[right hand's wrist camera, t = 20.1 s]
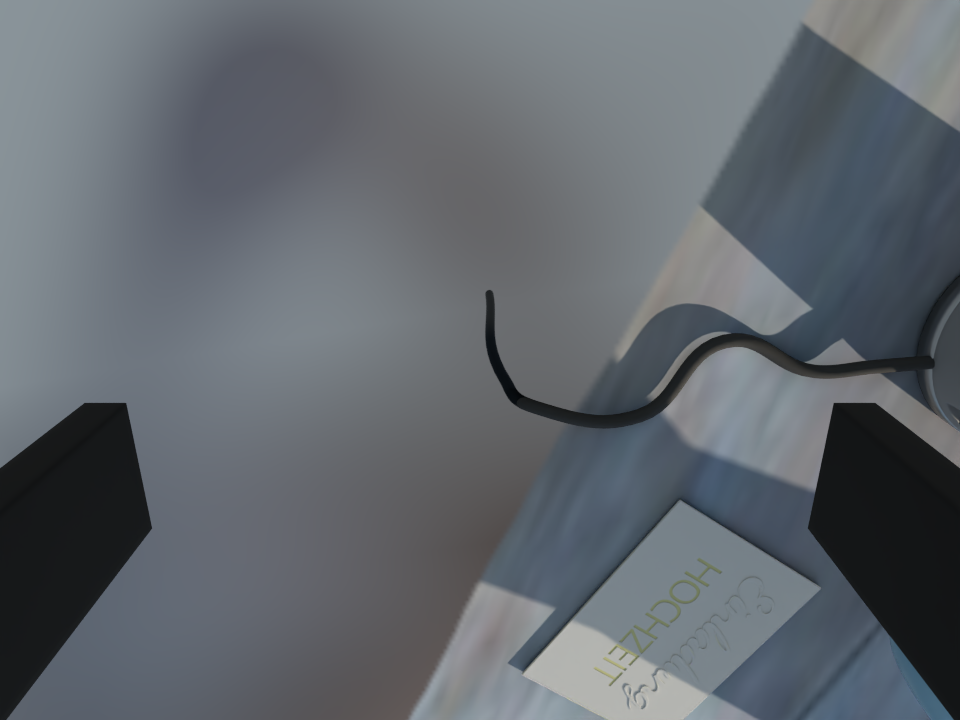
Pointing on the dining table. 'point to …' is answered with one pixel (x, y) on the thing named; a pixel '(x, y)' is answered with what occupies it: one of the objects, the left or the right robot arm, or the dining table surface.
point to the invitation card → (671, 622)
